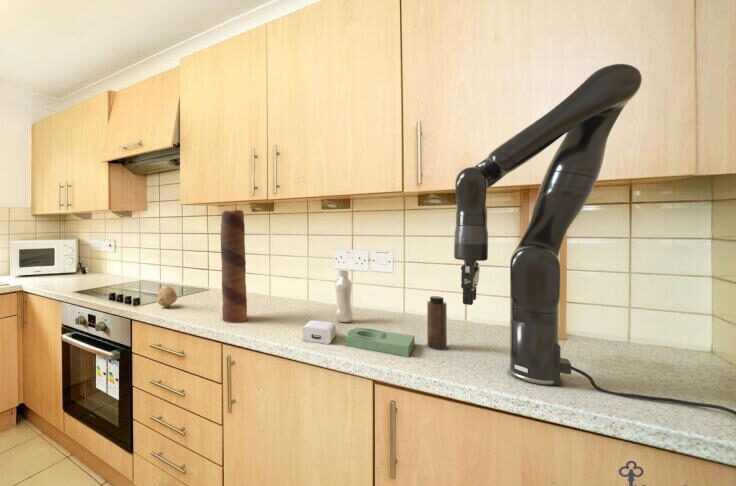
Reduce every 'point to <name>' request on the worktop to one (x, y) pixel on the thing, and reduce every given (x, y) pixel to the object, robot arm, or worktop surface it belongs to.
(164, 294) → the natural sponge
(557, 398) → the worktop surface
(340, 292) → the plastic bottle
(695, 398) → the worktop surface
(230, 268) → the wafer roll
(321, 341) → the charger
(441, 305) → the pepper mill
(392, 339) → the board
